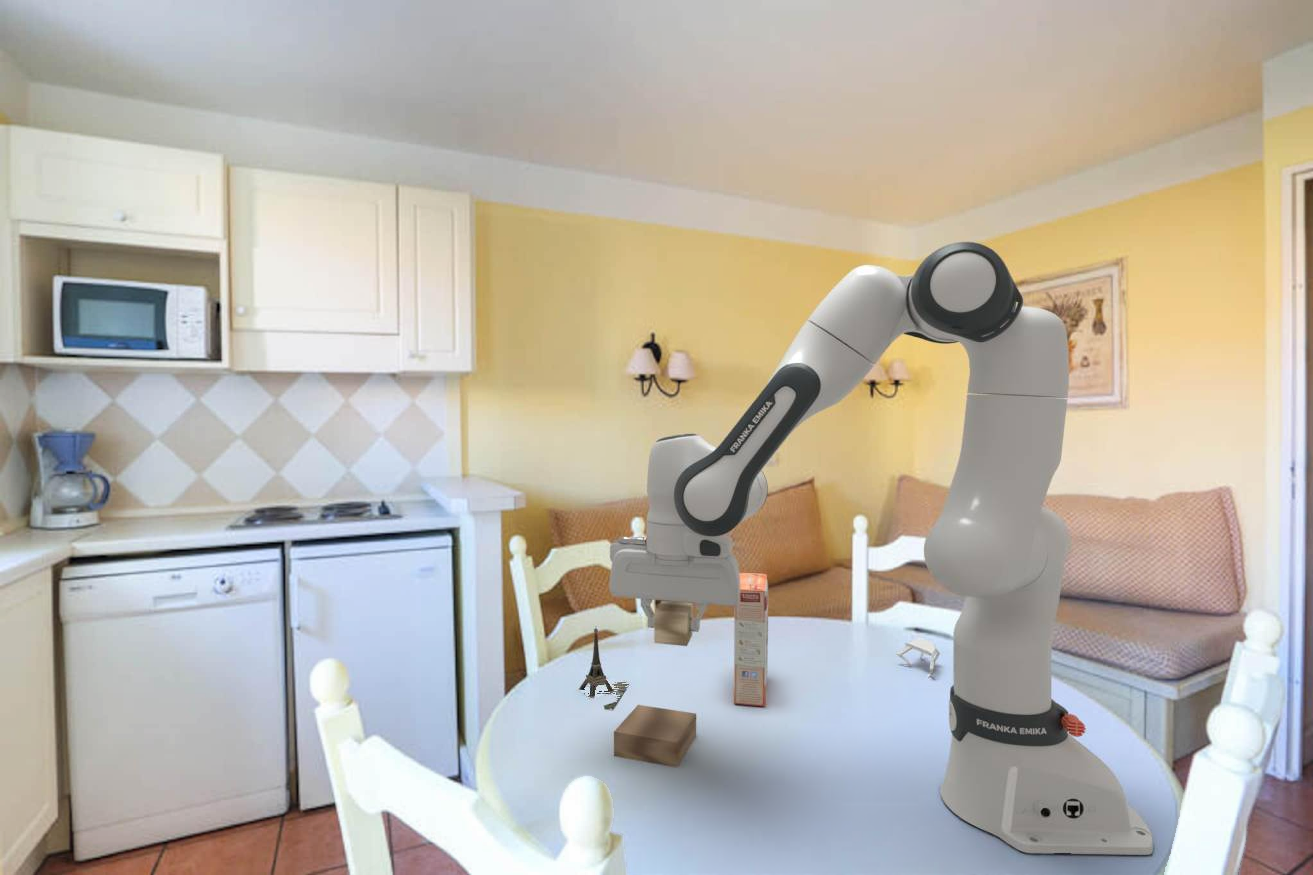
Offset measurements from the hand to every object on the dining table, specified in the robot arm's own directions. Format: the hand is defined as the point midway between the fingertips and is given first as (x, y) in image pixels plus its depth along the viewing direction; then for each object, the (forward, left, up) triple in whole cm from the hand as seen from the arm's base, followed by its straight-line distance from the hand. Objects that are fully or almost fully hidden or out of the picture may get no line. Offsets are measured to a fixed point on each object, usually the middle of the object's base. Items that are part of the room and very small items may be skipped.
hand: (673, 628), depth 96 cm
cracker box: (-10, -24, -19) cm, 32 cm away
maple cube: (0, 0, -2) cm, 2 cm away
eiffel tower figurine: (+18, -18, -19) cm, 32 cm away
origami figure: (-44, -42, -19) cm, 63 cm away
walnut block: (+3, 0, -19) cm, 19 cm away
